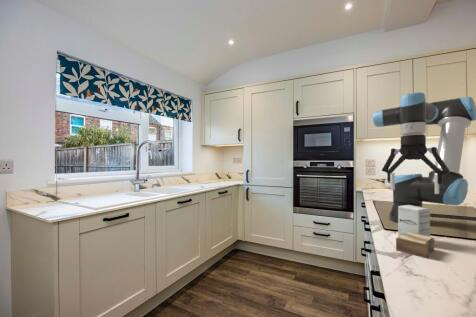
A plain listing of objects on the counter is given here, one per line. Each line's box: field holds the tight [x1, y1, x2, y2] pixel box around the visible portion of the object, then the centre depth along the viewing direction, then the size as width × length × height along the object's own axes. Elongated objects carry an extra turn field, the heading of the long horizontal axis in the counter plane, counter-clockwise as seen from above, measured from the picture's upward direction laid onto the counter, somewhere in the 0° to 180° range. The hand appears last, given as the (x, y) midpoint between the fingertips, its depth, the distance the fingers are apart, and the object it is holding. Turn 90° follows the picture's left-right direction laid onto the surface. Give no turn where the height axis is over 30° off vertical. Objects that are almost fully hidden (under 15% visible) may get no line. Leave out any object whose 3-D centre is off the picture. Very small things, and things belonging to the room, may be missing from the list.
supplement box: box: [397, 205, 431, 237], centre depth 86 cm, size 7×7×13 cm
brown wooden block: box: [395, 232, 435, 259], centre depth 77 cm, size 10×8×4 cm
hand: (413, 191), depth 86 cm, fingers open, 13 cm apart
